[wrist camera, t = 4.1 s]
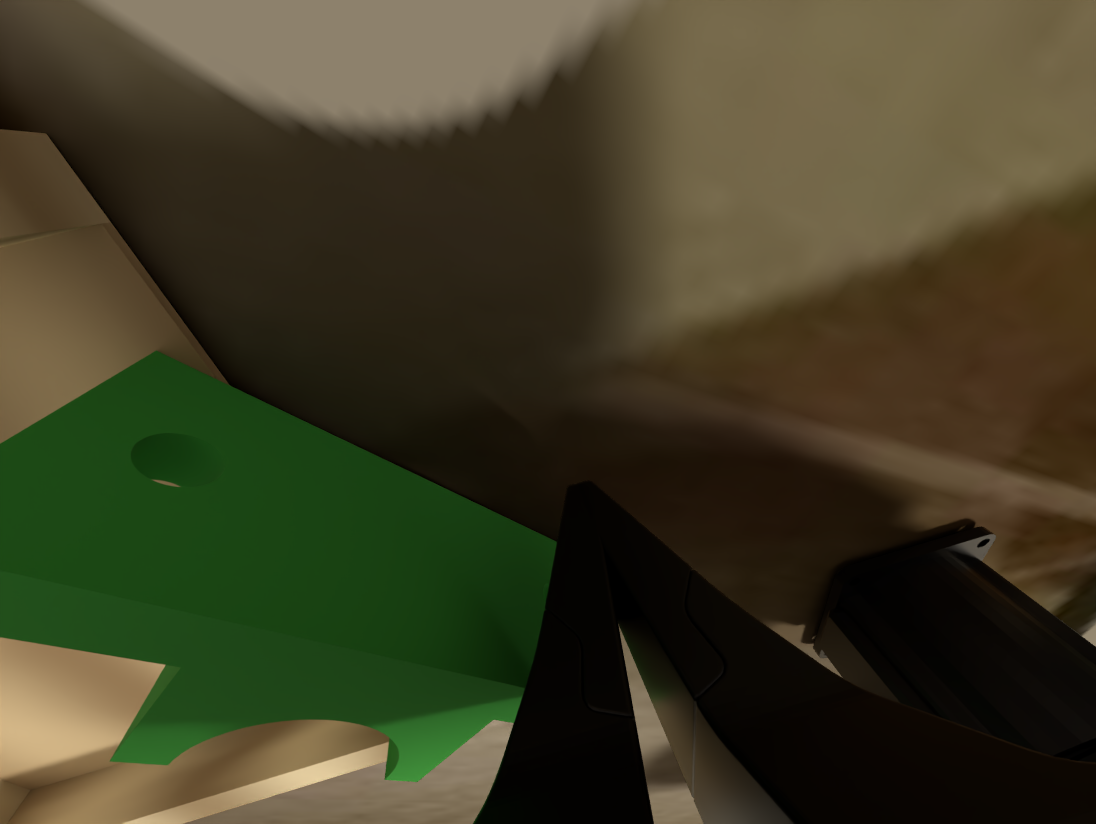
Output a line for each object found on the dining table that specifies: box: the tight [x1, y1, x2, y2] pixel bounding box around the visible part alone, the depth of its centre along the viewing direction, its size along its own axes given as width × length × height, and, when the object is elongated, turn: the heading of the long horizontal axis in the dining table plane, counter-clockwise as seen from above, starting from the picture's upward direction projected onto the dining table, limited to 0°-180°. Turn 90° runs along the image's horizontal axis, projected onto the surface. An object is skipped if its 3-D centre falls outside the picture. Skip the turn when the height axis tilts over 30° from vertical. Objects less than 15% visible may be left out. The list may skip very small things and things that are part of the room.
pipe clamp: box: [0, 351, 557, 782], centre depth 9 cm, size 11×4×5 cm, turn 48°
